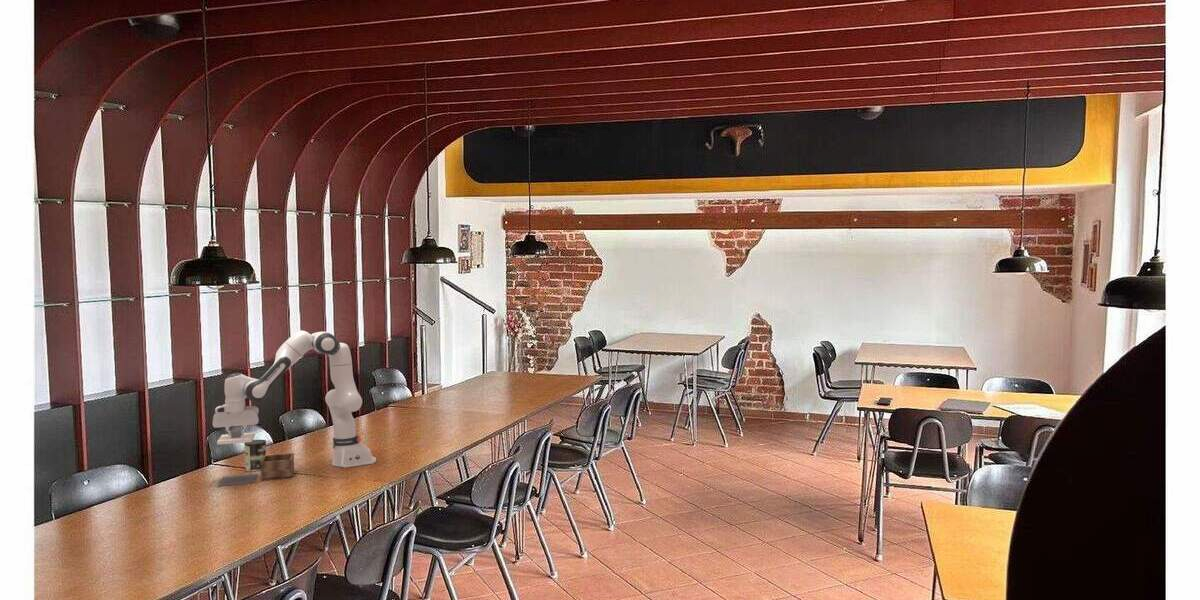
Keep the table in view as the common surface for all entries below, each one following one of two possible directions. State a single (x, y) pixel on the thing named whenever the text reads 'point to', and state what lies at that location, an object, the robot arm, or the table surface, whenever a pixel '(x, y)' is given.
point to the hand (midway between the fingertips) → (236, 435)
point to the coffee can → (254, 454)
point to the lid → (236, 437)
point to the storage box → (277, 466)
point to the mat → (237, 479)
